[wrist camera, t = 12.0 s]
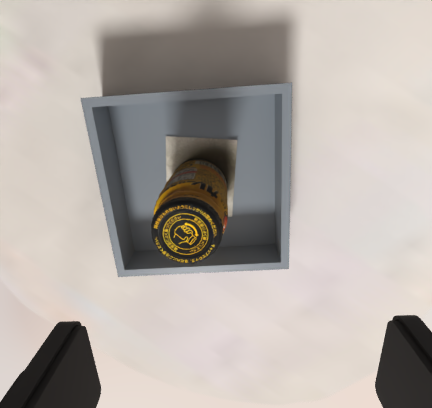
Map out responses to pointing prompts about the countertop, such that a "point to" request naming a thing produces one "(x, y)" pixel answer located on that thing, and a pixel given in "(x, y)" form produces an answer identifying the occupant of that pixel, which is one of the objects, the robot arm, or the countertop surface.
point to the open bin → (156, 171)
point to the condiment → (194, 198)
